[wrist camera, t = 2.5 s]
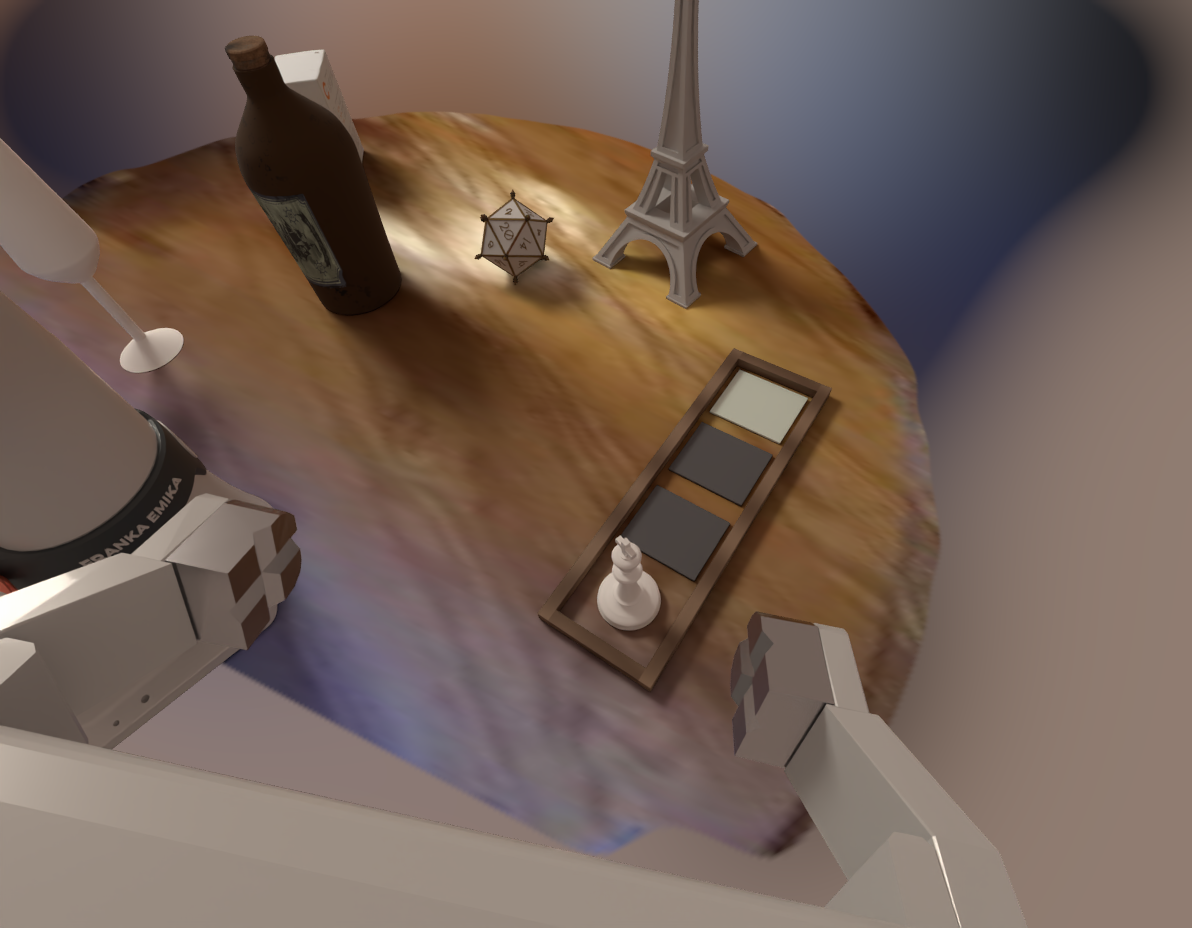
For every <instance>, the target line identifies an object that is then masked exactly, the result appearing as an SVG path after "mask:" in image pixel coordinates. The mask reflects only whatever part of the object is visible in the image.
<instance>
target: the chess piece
mask: <svg viewBox="0 0 1192 928" xmlns="http://www.w3.org/2000/svg"><path fill="white" fill-rule="evenodd" d="M615 542H616V543H617V544H618V545H617V546H615V548H614V549H613V551H612V561H613V563H614V565H613V567H612V573H610V574H609V575H608V576H607V577H606V578H605V579H604V580H603V582H602V583H601V585H600V588H599V591H598V596H597V604H598V609H599V611H600V613H601V615H602V617H603V618H604V619H605V620H606V621H607V622H608V623H609V624H610V625H612V626H613V627H615V628H618V629H621V630H637V629H640V628H643V627H645V626H647V625H648V624H649V623H651V622H652V621H653V620H654V618H655V617H656V616H657V614H658V612H659V609H660V605H661V596H660V592H659V589H658V586H657V584H656V582H655V581H654V579H653V578H652V577H651V576H650V575H648V574H647V573H646V572H644V571H643V569H642V565H641V563H640V561H641V557H642V555H641V551H640V549H639V547H638V546H637V545H635V544H634V543H631V542H630V541H629V540H628V539H627V538H625V539H623V538H622V536H621V535H620V536H619V537H617V538H616V539H615Z"/></svg>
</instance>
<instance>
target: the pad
mask: <svg viewBox="0 0 1192 928" xmlns="http://www.w3.org/2000/svg"><path fill="white" fill-rule="evenodd" d="M807 399H808V398H806V397H804V396H801V395H799V394H796V393H794V392H792V391H789V390H787V389H785V388H782V387H780V386H777V385H775V384H773V383H770V382H768V381H766V380H763V379H761V378H759V377H756V376H754V375H751V374H749V373H747V372H744V371H742V370H739V371H738V372H737V374H736V375H735V377H734V378H733V379H732V381H731V382H730V384H729V385H728V386H727V388H726V389H725V391H724V392H723V393H722V395H721V396H720V398H719V399H718V400H717V402H716V403H715V405H714V406H713V407H712V409H711V410H710V413H712V414H714V415H717V416H719V417H721V418H723V419H725V420H727V421H730V422H732V423H734V424H736V425H738V426H741V427H743V428H745V429H747V430H749V431H752V432H754V433H756V434H758V435H760V436H762V437H765V438H767V439H769V440H771V441H773V442H776V443H778V444H780V443H781V441H782V440H783V438H784V436H785V435H786V433H787V432H788V430H789V428H790V427H791V425H792V424H793V422H794V420H795V419H796V417H797V416H798V414H799V412H800V411H801V409H802V408H803V406H804V404H805V403H806V401H807Z"/></svg>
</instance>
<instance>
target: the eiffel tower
mask: <svg viewBox="0 0 1192 928" xmlns="http://www.w3.org/2000/svg"><path fill="white" fill-rule="evenodd" d="M698 3H699V0H675V7H674V21H673V34H672V45H671V55H670V65H669V73H668V82H667V90H666V97H665V104H664V111H663V117H662V123H661V129H660V135H659V140H658V146H657V147H656V148H654V149H653V150H652V151H651V156H652V157H653V158H654V162H653V164H652V167H651V170H650V172H649V175H648V177H647V180H646V182H645V184H644V187H643V189H642V191H641V193H640V195H639V197H638V199H637V201H636V202H634V203H633V204H632V205H630V206H629V207H628V208H626V209H625V213H626V215H627V216H628V217H627V218H626V219H625V220H624V222H623V223H622V224H621V225H620V227H619V228H618V229H617V230H616V232H615V233H614V234H613V235H612V237H611V238H610V239H609V240H608V242H607V243H606V244H605V245H604V246H603V248H602V249H601V250H600V251H599V253H598V254H597V255H596V256H594V257H593V258H592V259H593V260H594V261H596V262H598V263H600V264H601V265H603V266H605V267H607V268H609V269H611V268H612V267H613V266H615V265H616V264H617V263H618V262H620V261H621V260H622V259H623V258H625V255H624V254H623V253H624V250H625V248H626V246H627V244H628V243H629V242H630V241H633V240H637V239H644V240H648V241H651V242H652V243H654V244H655V245H657V246H658V247H659V248H660V250H661V251H662V252H663V254H664V256H665V257H666V260H667V262H668V266H669V270H670V291H669V295H668V296H666V299H668V300H670V301H671V302H673V303H675V304H677V305H679V306H681V307H683V308H685V309H687V308H688V307H689V306H690V305H691V304H692V303H693V302H694V301H695V300H696V299H698V298H699V297H700V296H701V293H699V292H698V289H697V283H696V263H697V257H698V254H699V251H700V248H701V246H702V244H703V243H704V241H705V240H706V239H707V238H708V237H709V236H710V235H711V234H713V233H716V232H720V233H721V234H722V235H723V236H724V238H725V241H726V245H725V246H724V248H725V249H727V250H730V251H732V252H734V253H736V254H738V255H740V256H743V257H744V256H745V255H746V254H748V253H749V252H750V251H751V250H752V249H753V248H754V247H755V246H756V245H757V243H756V242H754V241H753V240H752V239H751V237H750V236H749V235H748V234H747V232H746V231H745V230H744V229H743V228H742V226H741V225H740V224H739V223H738V222H737V220H736V219H735V218H734V217H733V216H732V214H731V213H730V212H729V211H728V210H727V208H726V206H727V205H728V203H729V200H728V199H725V198H723V197H721V196H719V195H718V193H717V190H716V188H715V186H714V183H713V180H712V178H711V175H710V172H709V170H708V166H707V163H706V160H705V156H704V153H705V152H707V151H708V145H706V144H703V143H702V134H701V122H700V107H699V88H698V87H699V86H698ZM691 180H692V184H693V185H692V184H691Z"/></svg>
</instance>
